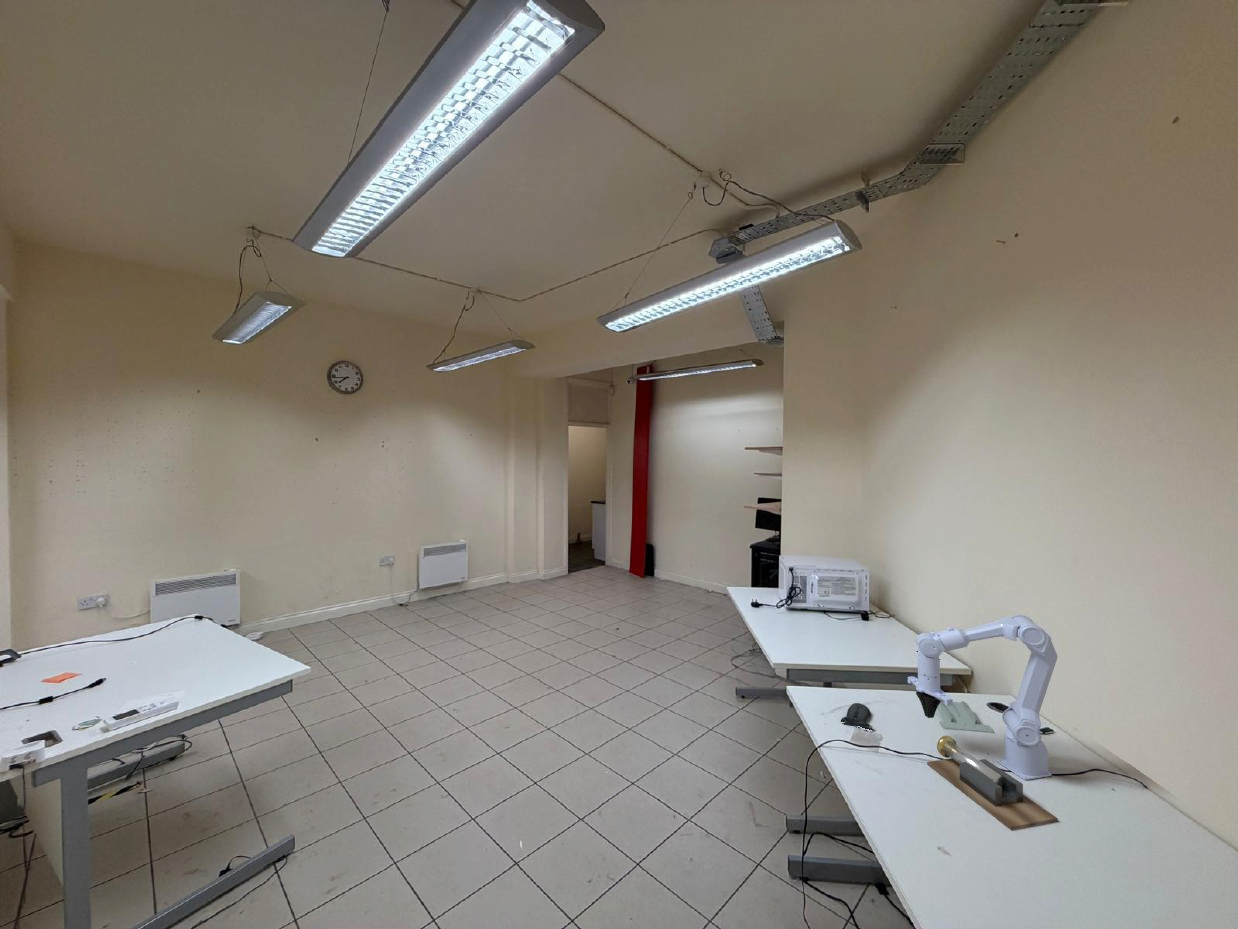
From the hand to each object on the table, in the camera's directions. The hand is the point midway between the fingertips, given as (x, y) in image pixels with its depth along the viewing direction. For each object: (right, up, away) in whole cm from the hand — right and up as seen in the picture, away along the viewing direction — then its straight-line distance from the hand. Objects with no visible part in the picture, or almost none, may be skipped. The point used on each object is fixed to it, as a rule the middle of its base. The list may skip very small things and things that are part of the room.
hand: (929, 716), depth 139 cm
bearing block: (+3, -10, -19) cm, 22 cm away
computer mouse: (-13, -11, +17) cm, 24 cm away
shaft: (+2, -9, -13) cm, 16 cm away
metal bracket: (+21, -11, +15) cm, 28 cm away
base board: (+3, -10, -19) cm, 22 cm away
